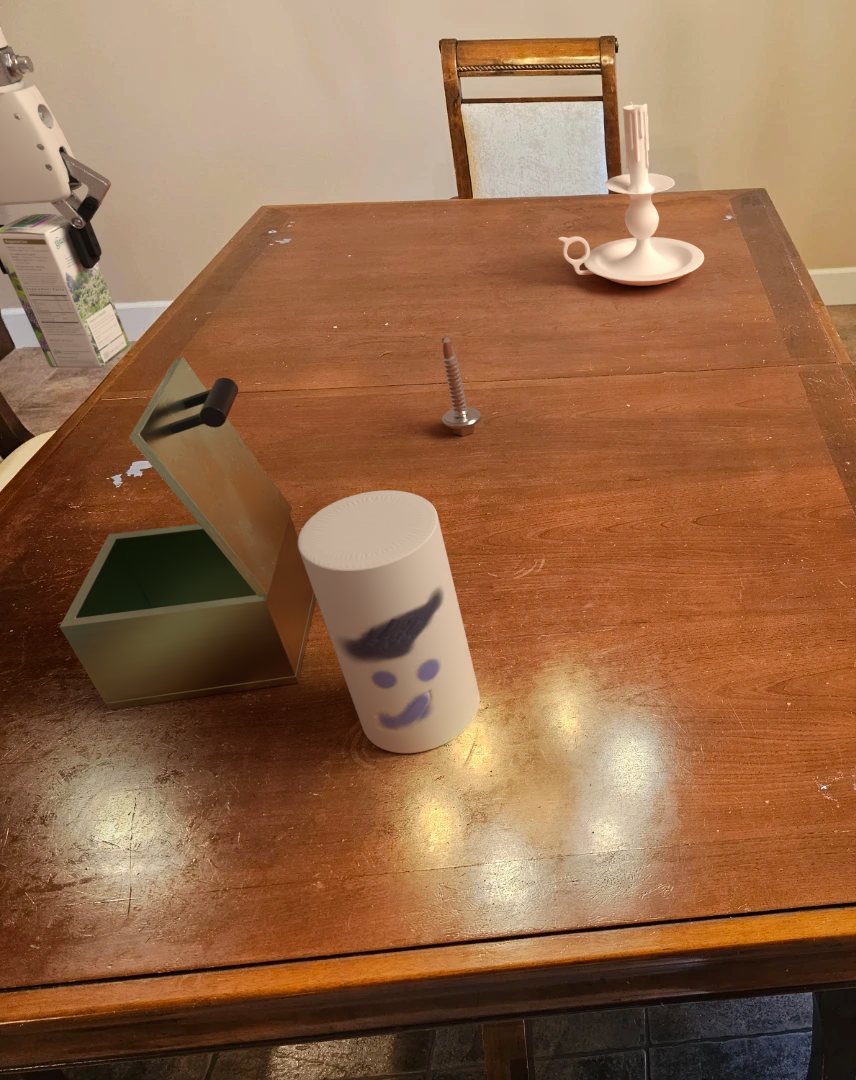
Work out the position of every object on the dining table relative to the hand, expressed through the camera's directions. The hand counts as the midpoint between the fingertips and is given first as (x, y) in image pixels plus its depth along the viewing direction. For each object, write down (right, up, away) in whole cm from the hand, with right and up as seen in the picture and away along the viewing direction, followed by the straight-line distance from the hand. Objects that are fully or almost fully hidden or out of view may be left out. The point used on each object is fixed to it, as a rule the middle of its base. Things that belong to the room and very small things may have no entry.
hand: (52, 265), depth 94 cm
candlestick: (+53, +17, +66) cm, 86 cm away
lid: (+26, -23, -17) cm, 38 cm away
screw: (+35, -14, +25) cm, 45 cm away
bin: (+21, -38, -7) cm, 44 cm away
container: (+42, -43, -13) cm, 61 cm away
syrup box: (0, -8, +6) cm, 10 cm away
